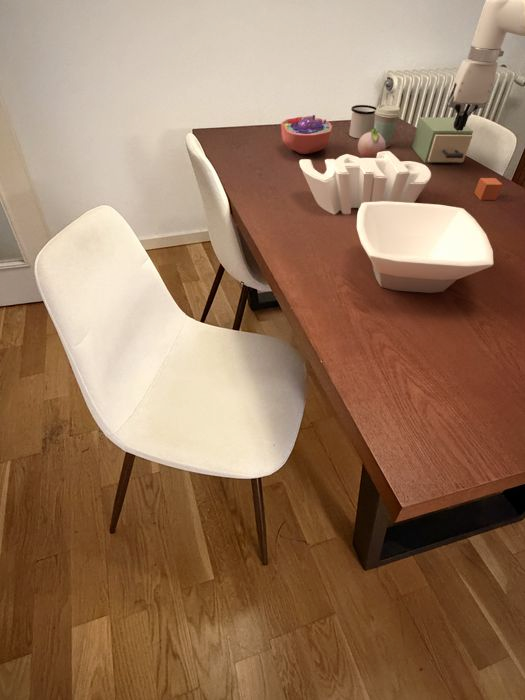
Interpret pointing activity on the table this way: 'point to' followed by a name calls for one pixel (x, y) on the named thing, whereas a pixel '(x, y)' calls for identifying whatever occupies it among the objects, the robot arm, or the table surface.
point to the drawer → (449, 147)
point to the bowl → (421, 244)
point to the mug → (361, 120)
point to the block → (488, 189)
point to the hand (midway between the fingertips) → (458, 129)
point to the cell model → (305, 134)
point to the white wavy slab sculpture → (364, 181)
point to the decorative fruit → (371, 144)
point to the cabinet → (433, 134)
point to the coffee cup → (386, 121)
